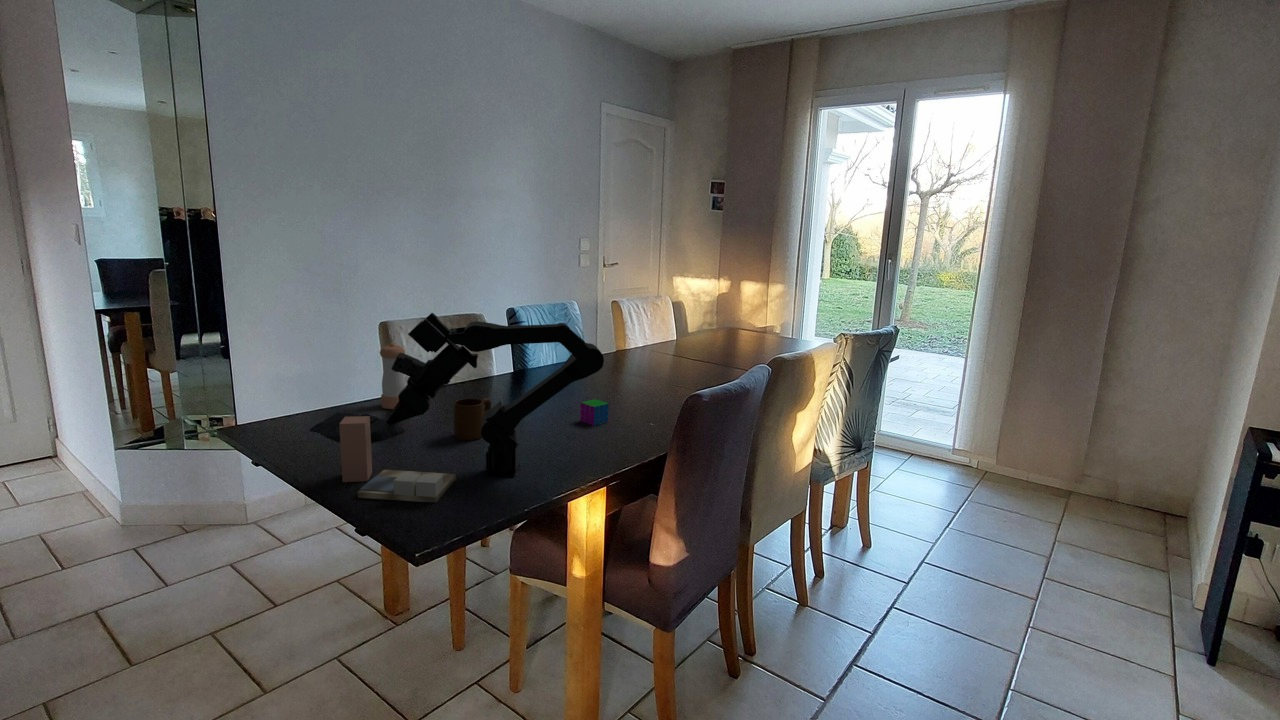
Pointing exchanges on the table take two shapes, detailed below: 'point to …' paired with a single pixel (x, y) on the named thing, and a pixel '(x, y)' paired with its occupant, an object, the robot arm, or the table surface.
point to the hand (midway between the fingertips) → (391, 417)
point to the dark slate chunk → (377, 426)
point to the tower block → (355, 448)
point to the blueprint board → (384, 487)
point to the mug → (469, 417)
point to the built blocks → (418, 484)
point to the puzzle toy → (594, 412)
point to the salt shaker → (391, 376)
